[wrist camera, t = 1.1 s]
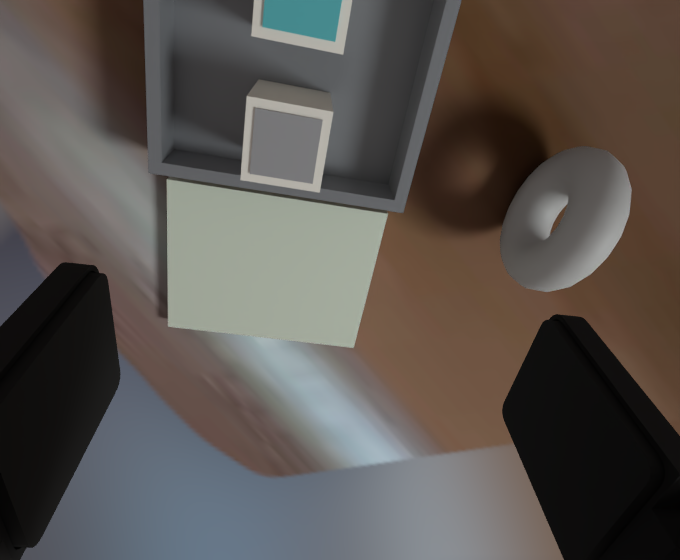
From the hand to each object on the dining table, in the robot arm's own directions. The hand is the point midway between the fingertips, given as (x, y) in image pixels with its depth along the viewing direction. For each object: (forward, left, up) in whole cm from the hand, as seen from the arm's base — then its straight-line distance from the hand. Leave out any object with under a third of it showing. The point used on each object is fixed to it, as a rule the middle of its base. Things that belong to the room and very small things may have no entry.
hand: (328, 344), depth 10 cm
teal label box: (-7, -2, -24) cm, 25 cm away
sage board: (+13, -2, -25) cm, 28 cm away
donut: (+3, +17, -25) cm, 30 cm away
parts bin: (-3, -2, -25) cm, 25 cm away
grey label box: (+1, -2, -24) cm, 24 cm away
